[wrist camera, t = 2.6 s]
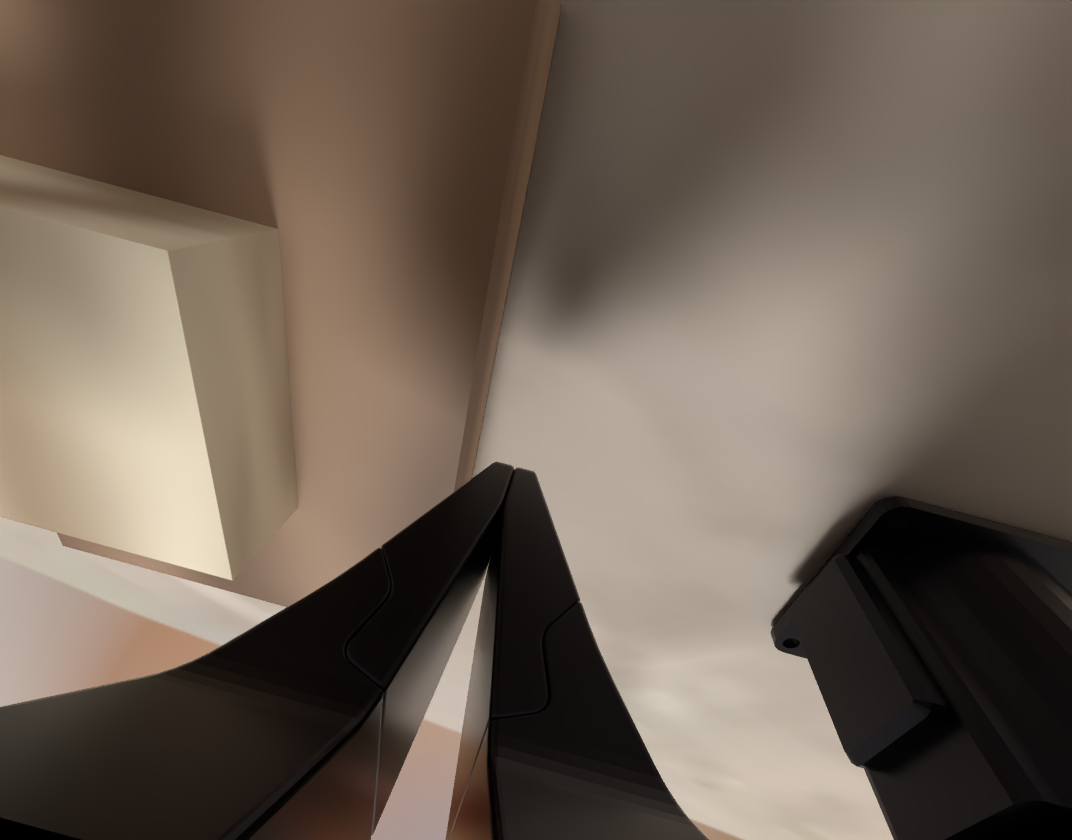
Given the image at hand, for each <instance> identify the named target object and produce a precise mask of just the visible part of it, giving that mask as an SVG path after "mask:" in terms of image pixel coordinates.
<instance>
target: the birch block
mask: <svg viewBox="0 0 1072 840" xmlns="http://www.w3.org/2000/svg"><path fill="white" fill-rule="evenodd" d="M297 509H298V496H297V482H296V469H295V455H294V441H293V427H292V413H291V399H290V385H289V371H288V357H287V343H286V330H285V316H284V302H283V288H282V274H281V260H280V246H279V232H278V229H276V228H272V227H268V226H265V225H261V224H257V223H253V222H250V221H246V220H242V219H238V218H235V217H231V216H227V215H223V214H220V213H216V212H212V211H208V210H205V209H201V208H197V207H193V206H190V205H186V204H182V203H178V202H175V201H171V200H167V199H163V198H160V197H156V196H152V195H148V194H145V193H141V192H137V191H133V190H130V189H126V188H122V187H118V186H115V185H111V184H107V183H103V182H100V181H96V180H92V179H88V178H85V177H81V176H77V175H73V174H70V173H66V172H62V171H58V170H54V169H51V168H47V167H43V166H39V165H36V164H32V163H28V162H24V161H21V160H17V159H13V158H9V157H6V156H2V155H0V517H2V518H6V519H10V520H13V521H17V522H21V523H24V524H28V525H31V526H35V527H39V528H42V529H46V530H50V531H53V532H57V533H61V534H64V535H68V536H72V537H75V538H79V539H83V540H86V541H90V542H94V543H97V544H101V545H105V546H108V547H112V548H115V549H119V550H123V551H126V552H130V553H134V554H137V555H141V556H145V557H148V558H152V559H156V560H159V561H163V562H167V563H170V564H174V565H178V566H181V567H185V568H188V569H192V570H196V571H199V572H203V573H207V574H210V575H214V576H218V577H221V578H225V579H229V580H232V581H233V579H234V578H235V577H236V576H237V575H238V574H239V573H240V572H241V571H242V569H243V568H244V567H245V566H246V565H247V564H248V563H249V562H250V561H251V560H252V558H253V557H254V556H255V555H256V554H257V553H258V552H259V551H260V550H261V548H262V547H263V546H264V545H265V544H266V543H267V542H268V541H269V540H270V539H271V537H272V536H273V535H274V534H275V533H276V532H277V531H278V530H279V529H280V527H281V526H282V525H283V524H284V523H285V522H286V521H287V520H288V519H289V517H290V516H291V515H292V514H293V513H294V512H295V511H296V510H297Z"/></svg>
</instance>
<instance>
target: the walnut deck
mask: <svg viewBox="0 0 1072 840" xmlns="http://www.w3.org/2000/svg"><path fill="white" fill-rule="evenodd" d="M561 7H562V5H561V1H560V0H0V155H2V156H6V157H9V158H13V159H17V160H21V161H24V162H28V163H32V164H36V165H39V166H43V167H47V168H51V169H54V170H58V171H62V172H66V173H70V174H73V175H77V176H81V177H85V178H88V179H92V180H96V181H100V182H103V183H107V184H111V185H115V186H118V187H122V188H126V189H130V190H133V191H137V192H141V193H145V194H148V195H152V196H156V197H160V198H163V199H167V200H171V201H175V202H178V203H182V204H186V205H190V206H193V207H197V208H201V209H205V210H208V211H212V212H216V213H220V214H223V215H227V216H231V217H235V218H238V219H242V220H246V221H250V222H253V223H257V224H261V225H265V226H268V227H272V228H276V229H278V232H279V246H280V260H281V274H282V288H283V302H284V316H285V330H286V343H287V357H288V371H289V385H290V399H291V413H292V427H293V441H294V455H295V469H296V482H297V496H298V509H297V510H296V511H295V512H294V513H293V514H292V515H291V516H290V517H289V519H288V520H287V521H286V522H285V523H284V524H283V525H282V526H281V527H280V529H279V530H278V531H277V532H276V533H275V534H274V535H273V536H272V537H271V539H270V540H269V541H268V542H267V543H266V544H265V545H264V546H263V547H262V548H261V550H260V551H259V552H258V553H257V554H256V555H255V556H254V557H253V558H252V560H251V561H250V562H249V563H248V564H247V565H246V566H245V567H244V568H243V569H242V571H241V572H240V573H239V574H238V575H237V576H236V577H235V578H234V579H233V581H232V580H229V579H225V578H221V577H218V576H214V575H210V574H207V573H203V572H199V571H196V570H192V569H188V568H185V567H181V566H178V565H174V564H170V563H167V562H163V561H159V560H156V559H152V558H148V557H145V556H141V555H137V554H134V553H130V552H126V551H123V550H119V549H115V548H112V547H108V546H105V545H101V544H97V543H94V542H90V541H86V540H83V539H79V538H75V537H72V536H68V535H64V534H61V533H57V534H58V536H59V538H60V540H61V542H62V545H63V546H66V547H70V548H74V549H77V550H81V551H84V552H88V553H92V554H95V555H99V556H103V557H106V558H110V559H114V560H117V561H121V562H125V563H128V564H132V565H136V566H139V567H143V568H146V569H150V570H154V571H157V572H161V573H165V574H168V575H172V576H176V577H179V578H183V579H187V580H190V581H194V582H198V583H201V584H205V585H209V586H212V587H216V588H219V589H223V590H227V591H230V592H234V593H238V594H241V595H245V596H249V597H252V598H256V599H260V600H263V601H267V602H271V603H274V604H278V605H281V606H285V607H289V606H290V605H292V604H294V603H295V602H297V601H299V600H301V599H302V598H304V597H306V596H307V595H309V594H311V593H312V592H314V591H315V590H317V589H319V588H320V587H322V586H323V585H325V584H327V583H328V582H330V581H332V580H333V579H335V578H336V577H338V576H339V575H341V574H342V573H344V572H345V571H347V570H348V569H349V568H351V567H352V566H354V565H355V564H357V563H358V562H360V561H361V560H362V559H364V558H365V557H366V556H368V555H369V554H370V553H372V552H373V551H374V550H376V549H377V548H381V546H382V545H383V544H384V543H386V542H387V541H388V540H390V539H391V538H392V537H394V536H395V535H396V534H398V533H399V532H401V531H402V530H403V529H405V528H406V527H407V526H409V525H410V524H411V523H413V522H414V521H415V520H417V519H418V518H420V517H421V516H422V515H424V514H425V513H426V512H428V511H429V510H430V509H432V508H433V507H434V506H436V505H437V504H438V503H440V502H441V501H443V500H444V499H445V498H447V497H448V496H449V495H451V494H452V493H453V492H455V491H456V490H457V489H459V488H460V487H461V486H463V485H464V484H466V483H467V482H468V481H470V480H471V479H472V475H473V470H474V465H475V459H476V454H477V449H478V443H479V438H480V433H481V428H482V422H483V417H484V412H485V407H486V401H487V396H488V391H489V386H490V380H491V375H492V370H493V365H494V359H495V354H496V349H497V344H498V338H499V333H500V328H501V323H502V317H503V312H504V307H505V302H506V296H507V291H508V286H509V281H510V275H511V270H512V265H513V260H514V254H515V249H516V244H517V239H518V233H519V228H520V223H521V218H522V212H523V207H524V202H525V197H526V191H527V186H528V181H529V176H530V170H531V165H532V160H533V155H534V149H535V144H536V139H537V134H538V128H539V123H540V118H541V113H542V107H543V102H544V97H545V91H546V86H547V81H548V76H549V70H550V65H551V60H552V55H553V49H554V44H555V39H556V34H557V28H558V23H559V18H560V13H561Z"/></svg>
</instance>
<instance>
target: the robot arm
mask: <svg viewBox="0 0 1072 840" xmlns="http://www.w3.org/2000/svg"><path fill="white" fill-rule="evenodd" d="M898 514H899V515H898ZM894 515H898V516H896V517H894V518H891V517H893V516H894ZM490 557H491V558H490ZM489 561H490V562H489ZM488 564H489V566H488ZM487 567H488V570H487ZM486 570H487V574H486V579H485V585H484V591H483V598H482V605H481V611H480V618H479V624H478V631H477V637H476V644H475V650H474V657H473V664H472V670H471V677H470V683H469V690H468V696H467V703H466V709H465V716H464V723H463V729H462V736H461V742H460V749H459V755H458V762H457V769H456V775H455V782H454V788H453V795H452V801H451V808H450V814H449V821H448V827H447V834H446V840H709V839H707V837H706V836H705V835H703V833H702V832H701V831H700V830H698V828H697V827H696V826H695V825H694V824H693V823H692V822H691V821H690V819H689V818H688V817H687V815H686V814H685V813H684V812H683V810H682V809H681V808H680V806H679V805H678V804H677V802H676V801H675V799H674V798H673V796H672V795H671V793H670V792H669V790H668V788H667V787H666V785H665V783H664V782H663V780H662V778H661V776H660V774H659V772H658V770H657V769H656V767H655V765H654V763H653V761H652V759H651V757H650V755H649V752H648V750H647V748H646V746H645V744H644V742H643V740H642V738H641V736H640V734H639V732H638V730H637V728H636V726H635V724H634V722H633V720H632V718H631V716H630V714H629V712H628V710H627V708H626V706H625V704H624V702H623V699H622V697H621V695H620V693H619V691H618V689H617V687H616V685H615V683H614V681H613V679H612V677H611V675H610V672H609V670H608V668H607V666H606V664H605V662H604V659H603V657H602V655H601V653H600V651H599V648H598V646H597V643H596V641H595V638H594V636H593V633H592V630H591V628H590V625H589V623H588V620H587V617H586V614H585V611H584V608H583V606H582V603H580V598H579V595H578V592H577V589H576V586H575V584H574V581H573V578H572V575H571V572H570V569H569V566H568V564H567V561H566V558H565V555H564V552H563V549H562V547H561V544H560V541H559V538H558V535H557V532H556V530H555V527H554V524H553V521H552V518H551V515H550V513H549V510H548V507H547V504H546V501H545V498H544V496H543V493H542V490H541V487H540V484H539V481H538V479H537V476H536V473H535V472H533V471H530V470H526V469H522V468H516V469H515V470H514V467H513V466H511V465H507V464H504V463H500V462H494V463H493V464H491V465H490V466H489V467H487V468H486V469H484V470H483V471H482V472H480V473H479V474H478V475H476V476H475V477H474V478H472V479H471V480H470V481H468V482H467V483H466V484H464V485H463V486H461V487H460V488H459V489H457V490H456V491H455V492H453V493H452V494H451V495H449V496H448V497H447V498H445V499H444V500H443V501H441V502H440V503H438V504H437V505H436V506H434V507H433V508H432V509H430V510H429V511H428V512H426V513H425V514H424V515H422V516H421V517H420V518H418V519H417V520H415V521H414V522H413V523H411V524H410V525H409V526H407V527H406V528H405V529H403V530H402V531H401V532H399V533H398V534H396V535H395V536H394V537H392V538H391V539H390V540H388V541H387V542H386V543H384V544H383V545H382V546H381V548H377V549H376V550H374V551H373V552H372V553H370V554H369V555H368V556H366V557H365V558H364V559H362V560H361V561H360V562H358V563H357V564H355V565H354V566H352V567H351V568H349V569H348V570H347V571H345V572H344V573H342V574H341V575H339V576H338V577H336V578H335V579H333V580H332V581H330V582H328V583H327V584H325V585H323V586H322V587H320V588H319V589H317V590H315V591H314V592H312V593H311V594H309V595H307V596H306V597H304V598H302V599H301V600H299V601H297V602H295V603H294V604H292V605H290V606H289V607H287V608H285V609H284V610H282V611H280V612H278V613H277V614H275V615H273V616H272V617H270V618H268V619H266V620H265V621H263V622H261V623H260V624H258V625H256V626H255V627H253V628H251V629H249V630H248V631H246V632H244V633H243V634H241V635H239V636H237V637H236V638H234V639H232V640H231V641H229V642H227V643H226V644H224V645H222V646H220V647H218V648H217V649H215V650H213V651H211V652H209V653H207V654H205V655H203V656H201V657H199V658H197V659H195V660H193V661H191V662H188V663H186V664H183V665H181V666H178V667H176V668H173V669H170V670H167V671H164V672H161V673H157V674H153V675H149V676H145V677H140V678H135V679H130V680H126V681H121V682H116V683H112V684H107V685H102V686H98V687H93V688H88V689H83V690H79V691H74V692H69V693H65V694H60V695H55V696H50V697H46V698H41V699H36V700H31V701H27V702H22V703H17V704H13V705H8V706H3V707H0V840H371V835H373V833H374V831H375V829H376V826H377V824H378V822H379V819H380V817H381V815H382V813H383V810H384V808H385V806H386V803H387V801H388V799H389V796H390V794H391V792H392V789H393V787H394V785H395V782H396V780H397V778H398V776H399V773H400V771H401V768H402V766H403V764H404V762H405V759H406V757H407V755H408V752H409V750H410V748H411V745H412V743H413V741H414V738H415V736H416V734H417V731H418V729H419V727H420V724H421V722H422V720H423V718H424V715H425V713H426V711H427V708H428V706H429V704H430V701H431V699H432V697H433V694H434V692H435V690H436V688H437V685H438V683H439V681H440V678H441V676H442V674H443V671H444V669H445V667H446V664H447V662H448V660H449V657H450V655H451V653H452V650H453V648H454V646H455V644H456V641H457V639H458V637H459V634H460V632H461V630H462V627H463V625H464V623H465V620H466V618H467V616H468V613H469V611H470V609H471V606H472V604H473V602H474V600H475V597H476V595H477V593H478V590H479V588H480V586H481V583H482V581H483V578H484V576H485V573H486ZM771 636H772V639H773V642H774V645H775V647H776V648H777V649H778V650H780V651H782V652H785V653H788V654H792V655H796V656H799V657H803V658H807V659H808V661H809V664H810V666H811V669H812V671H813V674H814V676H815V679H816V681H817V684H818V686H819V689H820V691H821V694H822V696H823V699H824V701H825V704H826V706H827V709H828V711H829V714H830V716H831V719H832V721H833V724H834V726H835V729H836V731H837V734H838V736H839V739H840V741H841V744H842V746H843V749H844V751H845V753H846V754H847V756H848V758H849V759H850V761H851V763H853V764H854V765H856V766H858V767H861V768H864V770H865V772H866V774H867V777H868V779H869V782H870V784H871V786H872V789H873V791H874V793H875V796H876V798H877V800H878V803H879V805H880V808H881V810H882V812H883V815H884V817H885V819H886V822H887V824H888V827H889V829H890V831H891V834H892V836H893V838H894V840H1072V543H1071V542H1067V541H1064V540H1060V539H1056V538H1053V537H1049V536H1045V535H1041V534H1038V533H1034V532H1030V531H1026V530H1023V529H1019V528H1015V527H1012V526H1008V525H1004V524H1000V523H997V522H993V521H989V520H985V519H982V518H978V517H974V516H971V515H967V514H963V513H959V512H956V511H952V510H948V509H944V508H941V507H937V506H933V505H930V504H926V503H922V502H918V501H915V500H911V499H907V498H903V497H895V496H894V497H889V498H885V499H883V500H880V501H878V502H877V503H876V504H875V505H874V506H872V508H871V509H870V510H869V511H868V513H867V514H866V515H865V516H864V517H863V519H862V520H861V521H860V522H859V523H858V525H857V526H856V527H855V528H854V530H853V531H852V532H851V533H850V534H849V536H848V537H847V538H846V539H845V540H844V542H843V543H842V544H841V545H840V547H839V548H838V549H837V550H836V551H835V553H834V554H833V555H832V556H831V557H830V559H829V560H828V561H827V562H826V564H825V565H824V566H823V567H822V568H821V570H820V571H819V572H818V573H817V574H816V576H815V577H814V578H813V579H812V581H811V582H810V583H809V584H808V585H807V587H806V588H805V589H804V590H803V591H802V593H801V594H800V595H799V596H798V598H797V599H796V600H795V601H794V602H793V604H792V605H791V606H790V607H789V609H788V610H787V611H786V612H785V613H784V615H783V616H782V617H781V618H780V619H779V621H778V622H777V623H776V624H775V626H774V627H773V628H772V630H771Z"/></svg>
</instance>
